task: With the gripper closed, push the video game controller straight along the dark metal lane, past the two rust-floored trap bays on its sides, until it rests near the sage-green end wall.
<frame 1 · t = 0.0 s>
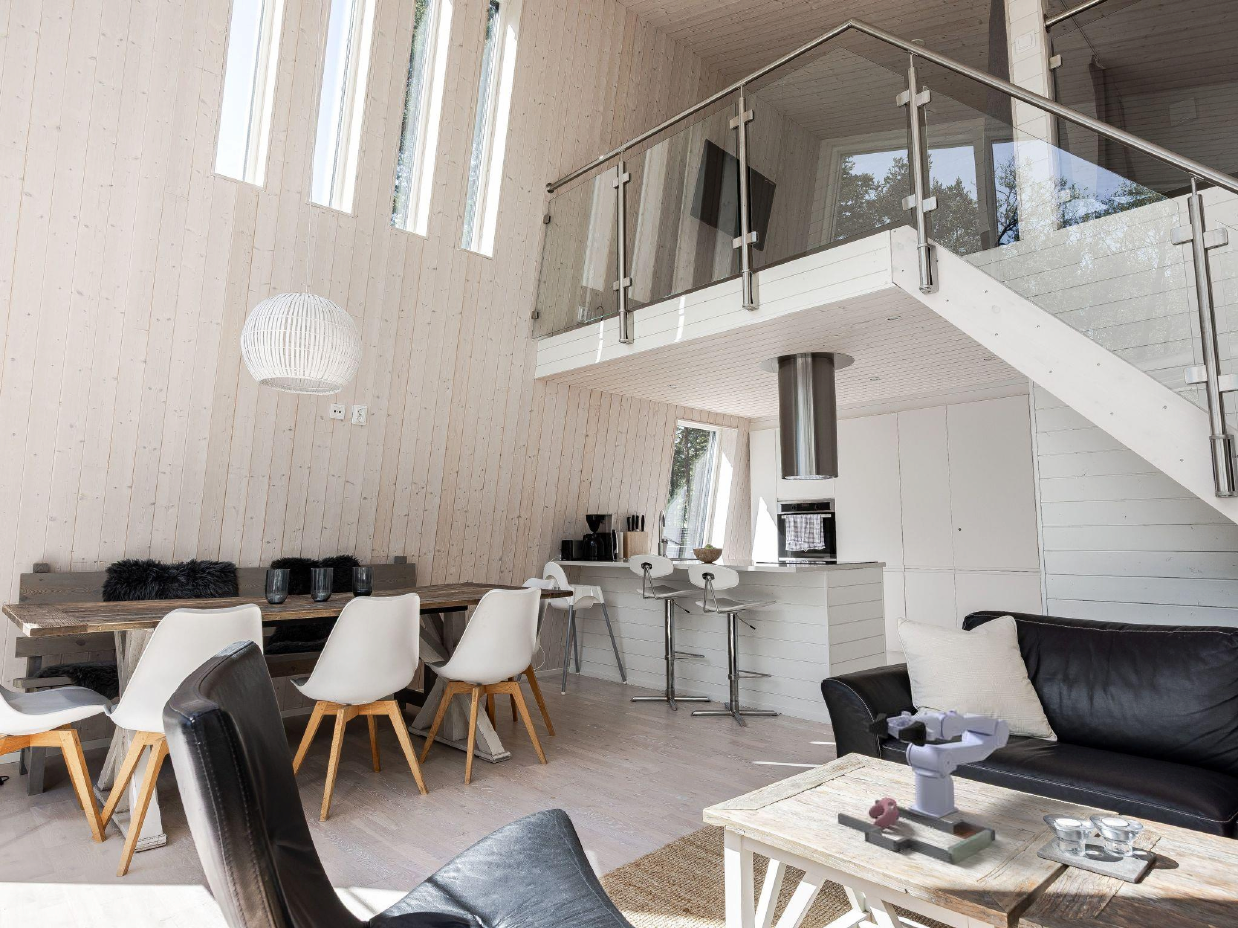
hand: (884, 731, 176), 22 cm above the table, tool horizontal, fingers open, 7 cm apart
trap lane: (905, 831, 173), on the table
video game controller: (884, 825, 177), on the table
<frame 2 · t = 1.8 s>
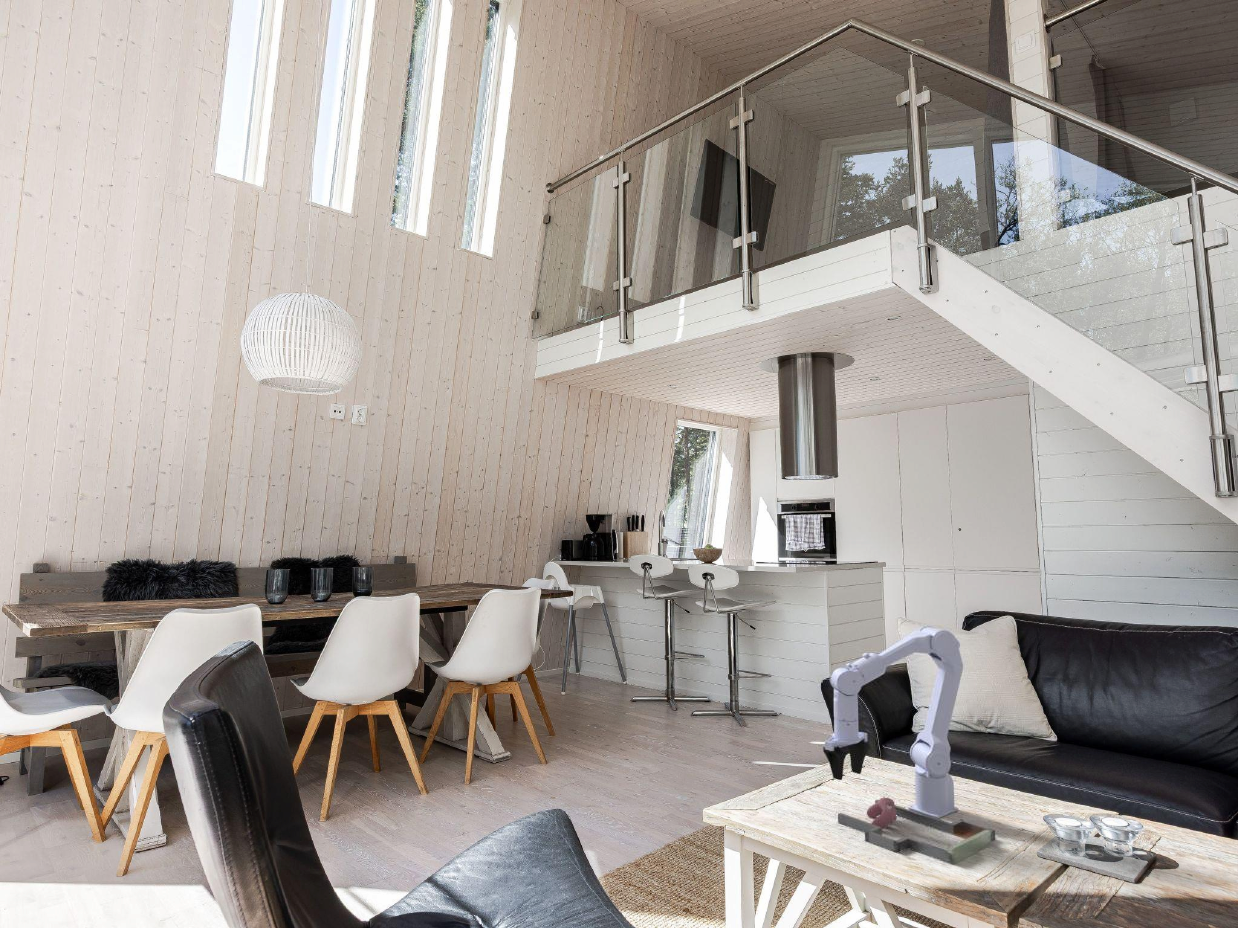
hand: (847, 775, 186), 8 cm above the table, tool pointing down, fingers open, 7 cm apart
nothing on the table moved.
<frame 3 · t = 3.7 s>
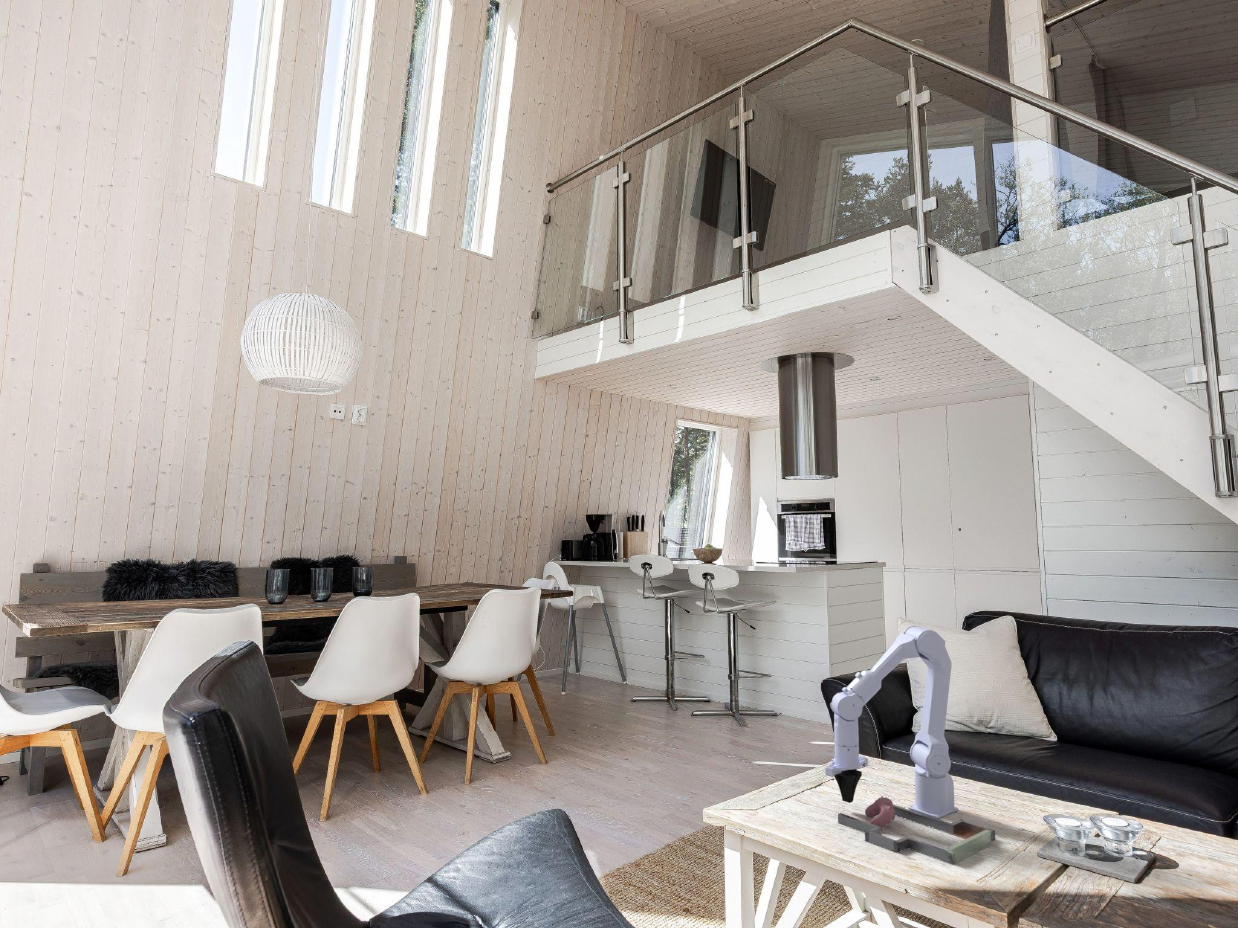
hand: (847, 801, 185), 2 cm above the table, tool pointing down, fingers closed
nothing on the table moved.
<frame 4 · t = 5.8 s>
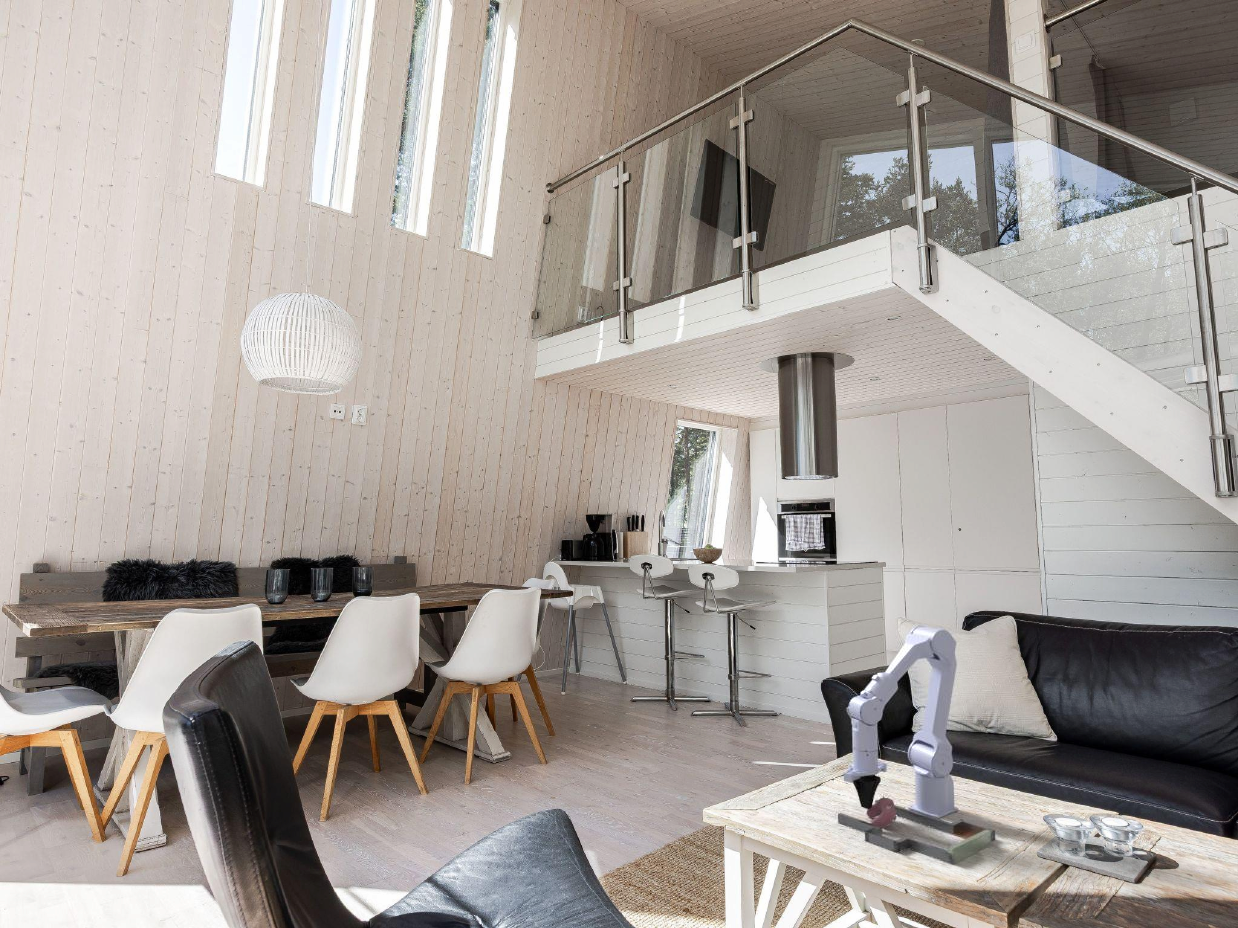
hand: (866, 807, 181), 2 cm above the table, tool pointing down, fingers closed
video game controller: (881, 825, 177), on the table, touching gripper
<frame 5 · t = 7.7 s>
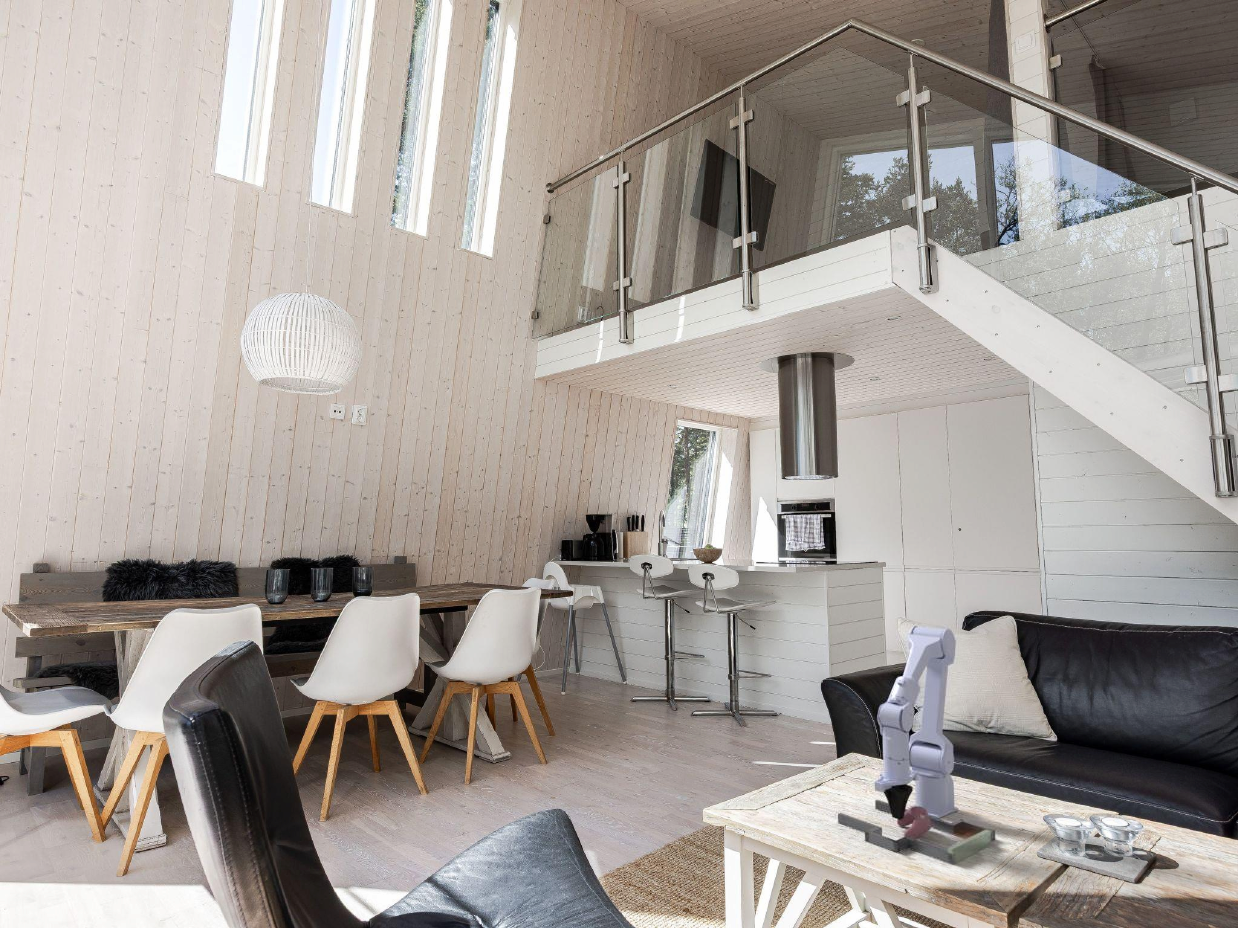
hand: (897, 817, 175), 2 cm above the table, tool pointing down, fingers closed
video game controller: (914, 834, 172), on the table, touching gripper
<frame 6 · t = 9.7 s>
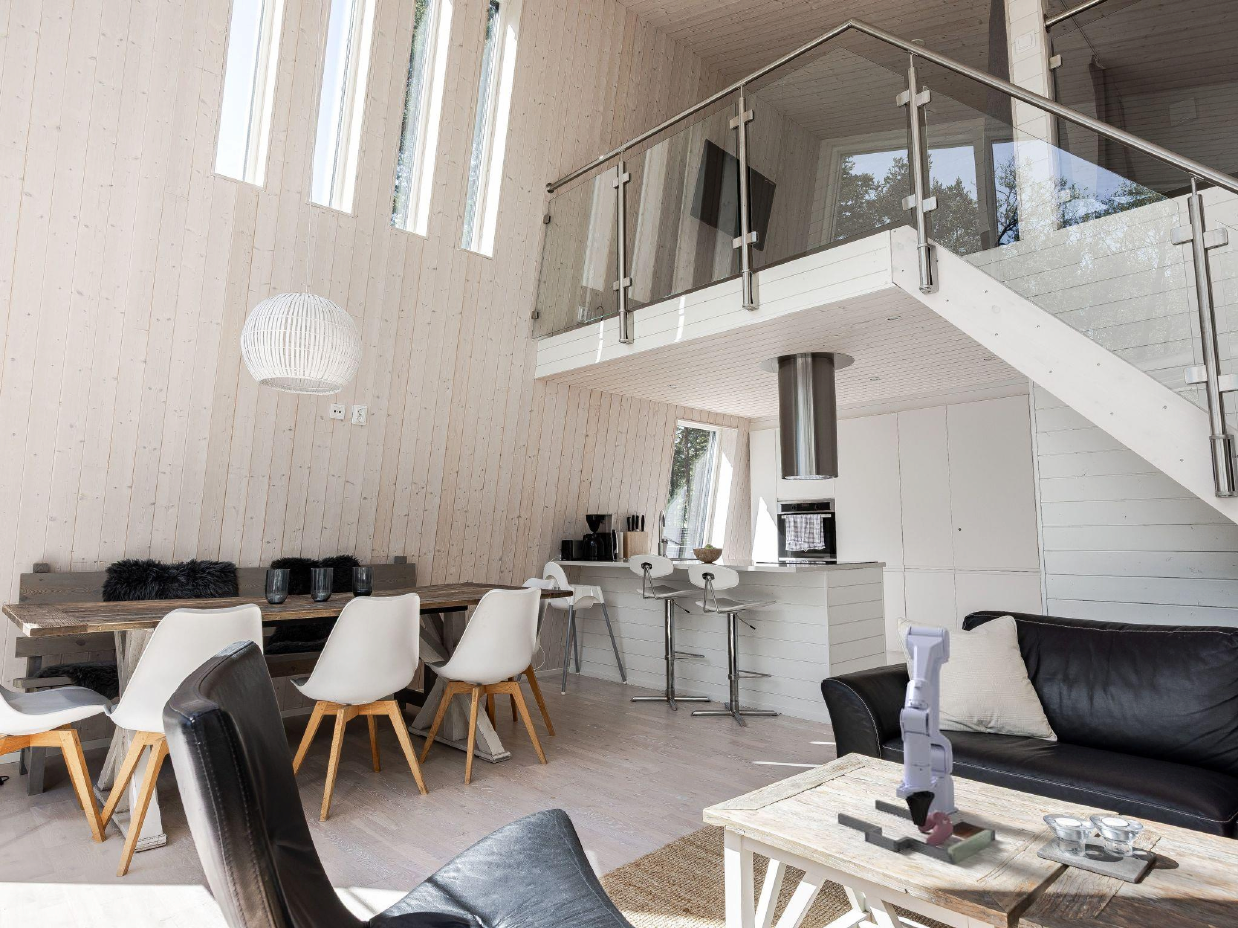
hand: (919, 824, 170), 2 cm above the table, tool pointing down, fingers closed
video game controller: (935, 840, 168), on the table, touching gripper
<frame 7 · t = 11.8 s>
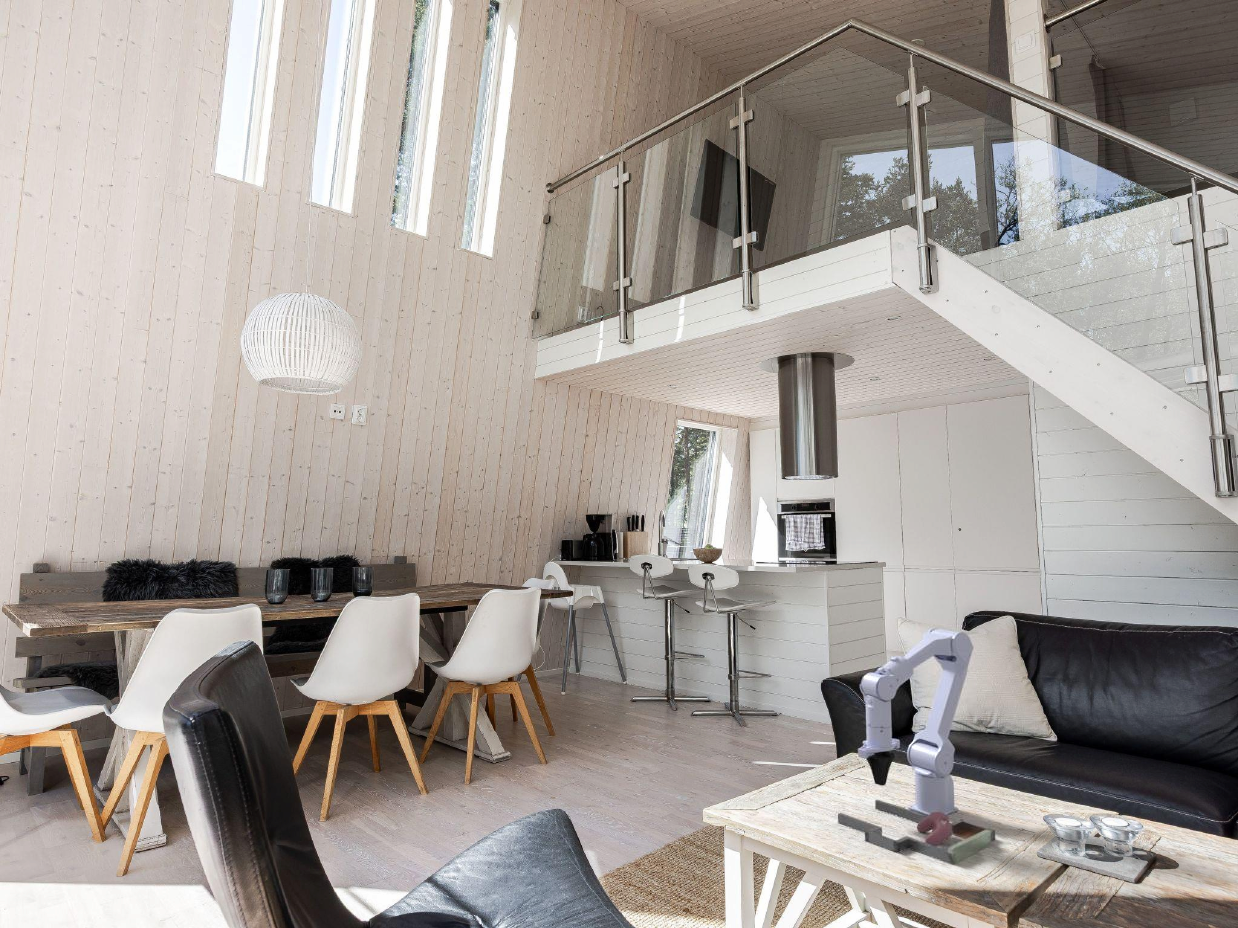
hand: (880, 783, 180), 8 cm above the table, tool pointing down, fingers closed
video game controller: (934, 841, 168), on the table
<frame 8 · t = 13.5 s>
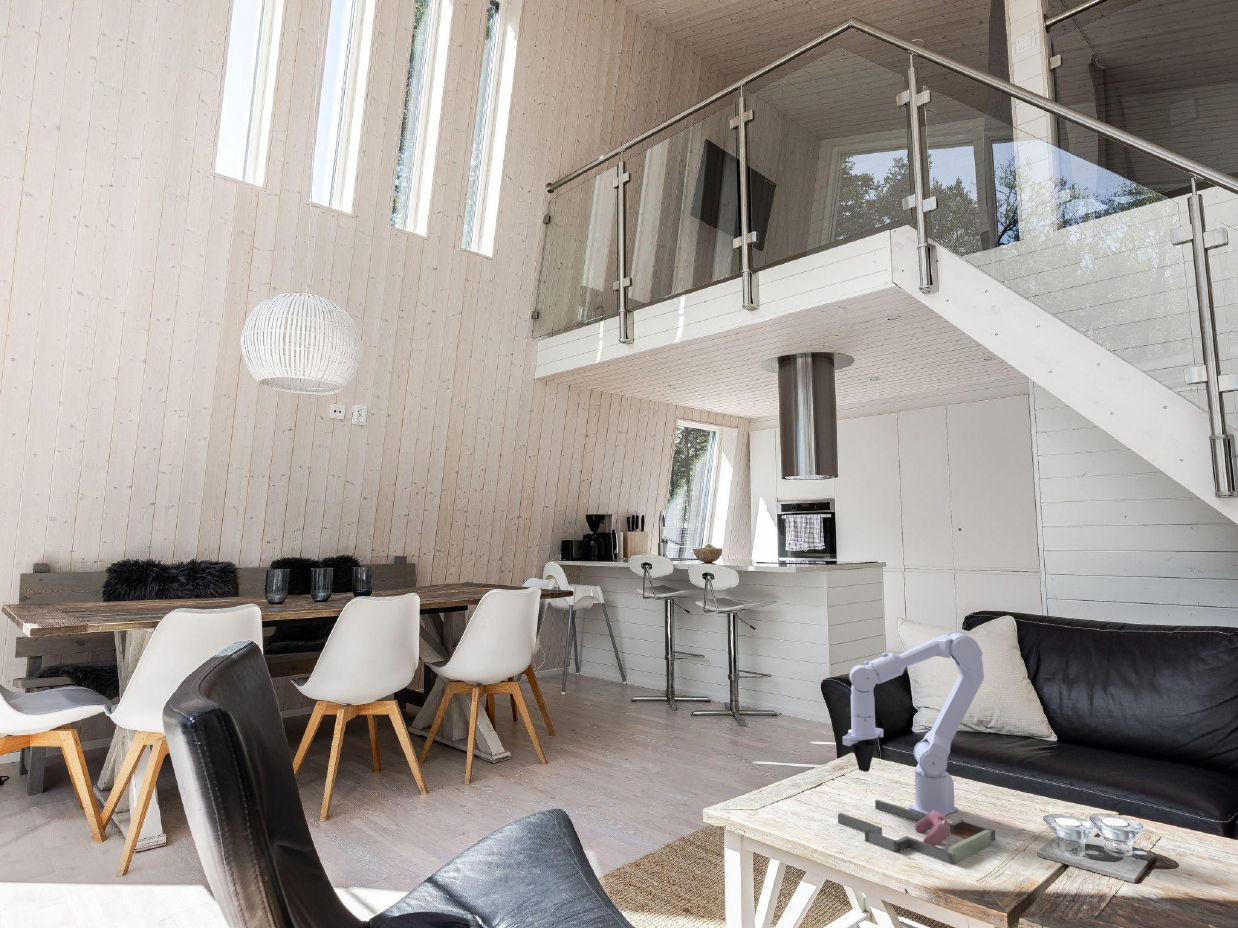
hand: (864, 770, 190), 8 cm above the table, tool pointing down, fingers closed
nothing on the table moved.
at the end: video game controller inside the target area (2.4 cm from its centre), on the table; video game controller tilted 1°; video game controller moved 11.7 cm from its start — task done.
